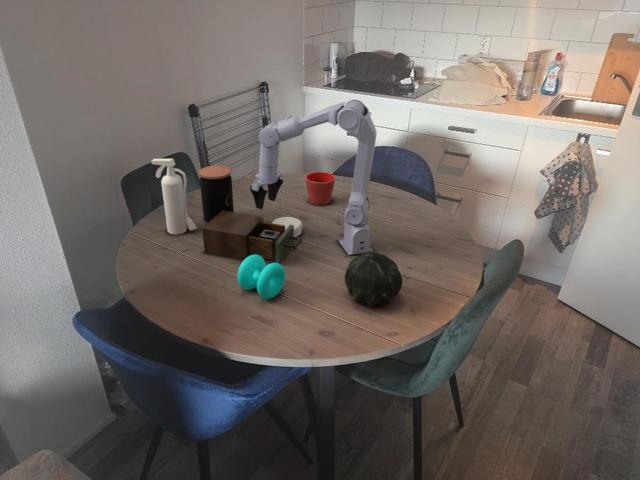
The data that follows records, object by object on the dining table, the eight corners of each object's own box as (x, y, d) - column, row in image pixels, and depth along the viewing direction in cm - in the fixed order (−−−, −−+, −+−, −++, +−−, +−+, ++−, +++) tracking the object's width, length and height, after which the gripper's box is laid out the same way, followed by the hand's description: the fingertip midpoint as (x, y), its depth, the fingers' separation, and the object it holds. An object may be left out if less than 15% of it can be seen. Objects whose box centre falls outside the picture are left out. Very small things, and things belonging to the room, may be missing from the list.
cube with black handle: (280, 245, 154) (279, 230, 151) (275, 251, 151) (274, 236, 148) (265, 243, 156) (264, 227, 153) (259, 249, 152) (259, 233, 150)
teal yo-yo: (260, 278, 142) (259, 247, 137) (287, 290, 137) (287, 259, 131) (236, 293, 136) (234, 262, 130) (263, 307, 130) (262, 274, 125)
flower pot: (324, 209, 181) (325, 184, 176) (299, 202, 187) (299, 177, 182) (339, 200, 188) (340, 175, 183) (315, 193, 194) (316, 169, 189)
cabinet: (264, 240, 161) (263, 216, 157) (247, 260, 150) (246, 235, 146) (224, 233, 166) (222, 210, 161) (204, 252, 155) (202, 228, 150)
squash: (390, 259, 140) (363, 230, 130) (421, 288, 128) (393, 259, 119) (354, 294, 142) (324, 268, 132) (381, 326, 130) (350, 300, 121)
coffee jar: (232, 226, 170) (229, 176, 160) (201, 226, 170) (196, 176, 161) (235, 213, 179) (232, 165, 169) (206, 213, 179) (201, 165, 170)
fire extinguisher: (192, 237, 163) (183, 164, 150) (159, 233, 166) (147, 161, 153) (200, 228, 169) (192, 157, 156) (168, 224, 172) (158, 154, 158)
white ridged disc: (267, 236, 163) (267, 227, 162) (277, 223, 171) (276, 214, 170) (297, 240, 161) (297, 231, 159) (305, 227, 169) (305, 218, 167)
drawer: (305, 246, 156) (306, 227, 152) (292, 265, 146) (292, 245, 142) (254, 237, 161) (253, 218, 158) (238, 255, 151) (236, 235, 148)
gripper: (269, 154, 160) (266, 193, 167) (244, 167, 149) (242, 208, 157) (288, 160, 157) (284, 199, 165) (264, 173, 146) (261, 214, 154)
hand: (265, 204), depth 161 cm, fingers open, 7 cm apart
